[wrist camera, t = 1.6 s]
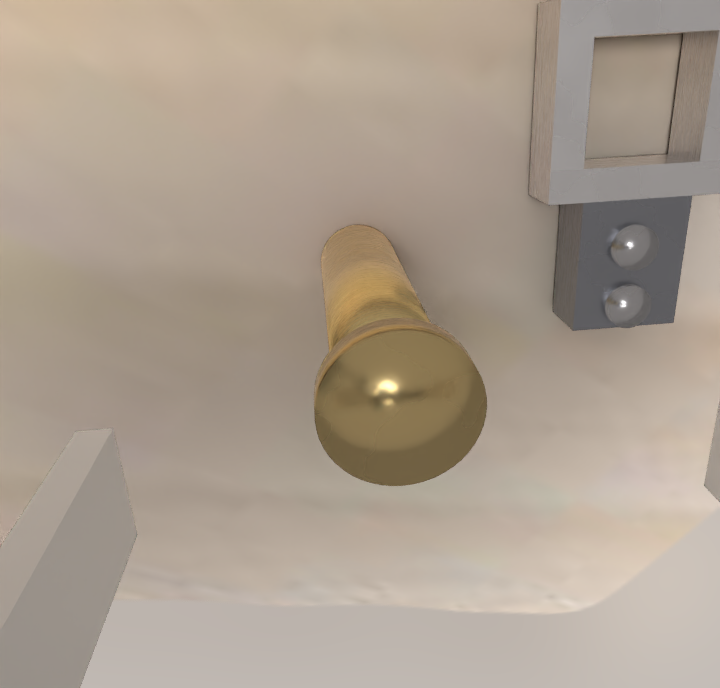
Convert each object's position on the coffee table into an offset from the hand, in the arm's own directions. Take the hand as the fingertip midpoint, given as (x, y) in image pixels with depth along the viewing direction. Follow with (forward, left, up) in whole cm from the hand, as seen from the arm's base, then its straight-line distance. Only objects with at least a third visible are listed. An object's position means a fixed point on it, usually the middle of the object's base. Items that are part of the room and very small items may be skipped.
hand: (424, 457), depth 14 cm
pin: (0, 0, -15) cm, 15 cm away
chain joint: (+11, +6, -15) cm, 20 cm away
